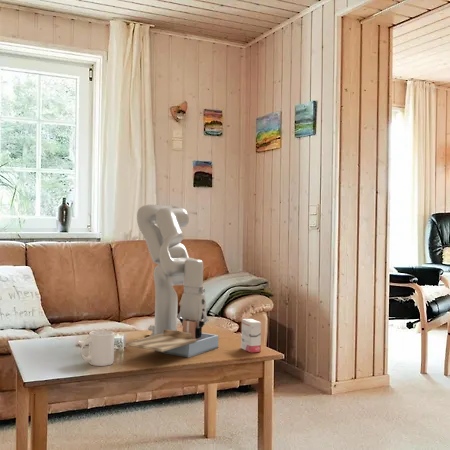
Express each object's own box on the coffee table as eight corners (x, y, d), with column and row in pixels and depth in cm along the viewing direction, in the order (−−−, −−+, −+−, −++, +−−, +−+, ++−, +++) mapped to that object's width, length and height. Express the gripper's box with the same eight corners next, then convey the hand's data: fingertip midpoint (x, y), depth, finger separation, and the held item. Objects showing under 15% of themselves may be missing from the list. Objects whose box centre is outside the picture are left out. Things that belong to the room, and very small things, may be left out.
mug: (75, 363, 203) (75, 332, 202) (106, 359, 210) (107, 329, 210) (85, 369, 196) (86, 337, 196) (118, 364, 203) (118, 333, 203)
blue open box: (154, 351, 224) (155, 338, 224) (185, 342, 241) (185, 330, 240) (188, 357, 215) (189, 344, 215) (218, 347, 232) (218, 335, 232)
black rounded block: (74, 346, 229) (74, 336, 229) (86, 342, 237) (86, 332, 236) (93, 349, 226) (93, 338, 226) (104, 345, 233) (105, 335, 233)
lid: (126, 344, 210) (126, 337, 210) (161, 335, 227) (161, 328, 227) (162, 351, 201) (162, 343, 201) (196, 341, 219) (196, 334, 219)
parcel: (189, 340, 233) (190, 319, 233) (199, 341, 230) (200, 320, 231) (181, 341, 228) (182, 320, 229) (192, 342, 226) (193, 321, 226)
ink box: (261, 352, 227) (262, 321, 227) (249, 353, 225) (250, 322, 225) (251, 347, 235) (252, 318, 235) (240, 348, 233) (241, 318, 233)
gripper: (216, 291, 229) (215, 338, 229) (181, 288, 238) (180, 332, 238) (205, 293, 222) (204, 341, 222) (170, 289, 231) (169, 335, 231)
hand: (192, 336), depth 230 cm, fingers closed on parcel, 5 cm apart
